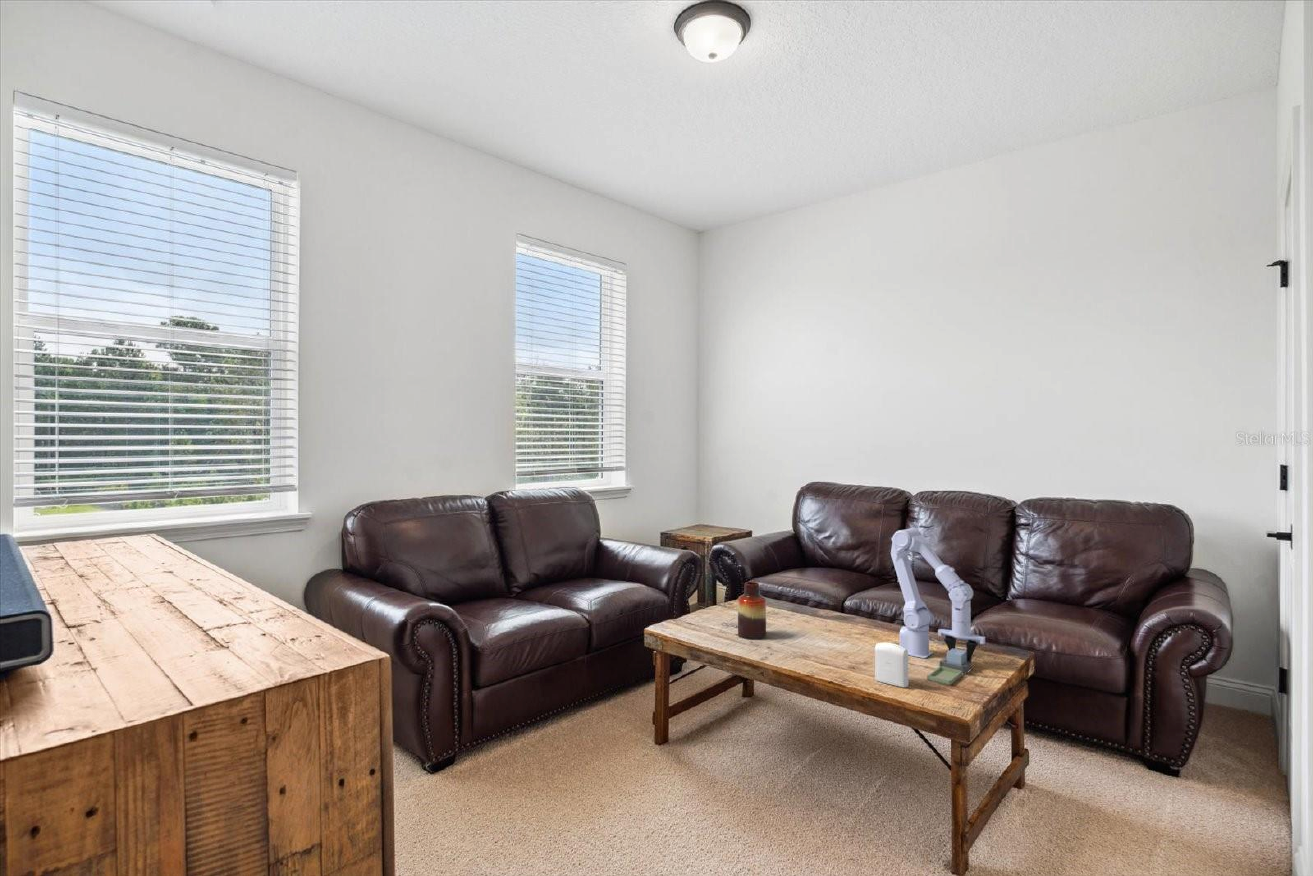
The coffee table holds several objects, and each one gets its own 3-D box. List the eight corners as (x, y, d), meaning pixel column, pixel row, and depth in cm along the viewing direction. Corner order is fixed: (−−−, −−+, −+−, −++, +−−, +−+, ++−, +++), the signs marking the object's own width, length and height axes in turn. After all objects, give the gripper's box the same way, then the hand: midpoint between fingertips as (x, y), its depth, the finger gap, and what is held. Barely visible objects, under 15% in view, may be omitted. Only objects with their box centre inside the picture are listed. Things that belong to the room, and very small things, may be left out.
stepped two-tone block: (946, 669, 218) (946, 652, 218) (955, 662, 225) (955, 646, 225) (961, 672, 215) (961, 655, 215) (969, 665, 222) (969, 649, 222)
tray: (927, 680, 208) (927, 675, 208) (939, 670, 217) (939, 666, 217) (950, 685, 204) (950, 681, 204) (962, 675, 212) (962, 671, 212)
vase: (765, 631, 260) (765, 580, 260) (767, 640, 249) (766, 586, 249) (737, 631, 261) (737, 579, 261) (738, 639, 250) (738, 586, 250)
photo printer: (872, 681, 208) (872, 641, 208) (878, 677, 211) (878, 638, 211) (904, 689, 201) (904, 649, 201) (910, 685, 204) (910, 645, 204)
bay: (939, 669, 218) (939, 661, 218) (946, 664, 223) (946, 656, 223) (965, 675, 213) (965, 667, 213) (971, 669, 218) (971, 662, 218)
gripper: (987, 622, 220) (987, 662, 220) (943, 614, 230) (943, 653, 230) (981, 626, 215) (981, 668, 215) (935, 618, 225) (935, 658, 225)
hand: (961, 660), depth 222 cm, fingers closed on stepped two-tone block, 4 cm apart
